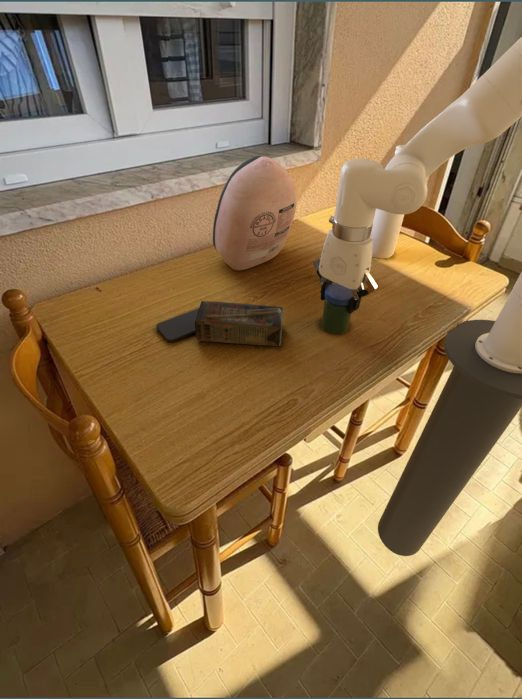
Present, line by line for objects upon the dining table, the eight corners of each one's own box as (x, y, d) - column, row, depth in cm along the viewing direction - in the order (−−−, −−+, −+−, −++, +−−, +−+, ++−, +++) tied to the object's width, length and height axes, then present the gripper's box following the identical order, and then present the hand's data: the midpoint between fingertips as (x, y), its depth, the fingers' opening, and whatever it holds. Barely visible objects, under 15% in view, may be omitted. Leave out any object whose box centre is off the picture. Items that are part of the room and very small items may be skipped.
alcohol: (360, 247, 121) (381, 143, 101) (386, 245, 123) (411, 141, 103) (371, 260, 115) (395, 151, 95) (398, 258, 116) (428, 150, 96)
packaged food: (262, 241, 123) (264, 138, 104) (304, 265, 112) (315, 154, 92) (205, 261, 113) (195, 151, 93) (245, 290, 102) (243, 171, 82)
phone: (226, 318, 91) (168, 341, 84) (226, 320, 91) (169, 344, 84) (210, 303, 95) (154, 324, 88) (210, 306, 96) (155, 327, 89)
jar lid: (323, 304, 83) (324, 298, 82) (324, 287, 88) (325, 281, 87) (355, 307, 82) (357, 301, 81) (355, 290, 87) (356, 284, 86)
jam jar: (352, 322, 91) (359, 291, 85) (342, 337, 87) (348, 305, 81) (327, 314, 94) (332, 283, 88) (316, 327, 90) (321, 296, 84)
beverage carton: (281, 348, 84) (282, 325, 79) (195, 343, 85) (192, 319, 80) (282, 326, 90) (283, 303, 85) (201, 321, 91) (199, 298, 86)
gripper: (305, 221, 77) (298, 295, 89) (380, 250, 68) (362, 328, 80) (327, 211, 81) (318, 283, 93) (401, 237, 72) (380, 313, 84)
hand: (338, 303), depth 86 cm, fingers closed on jar lid, 6 cm apart
